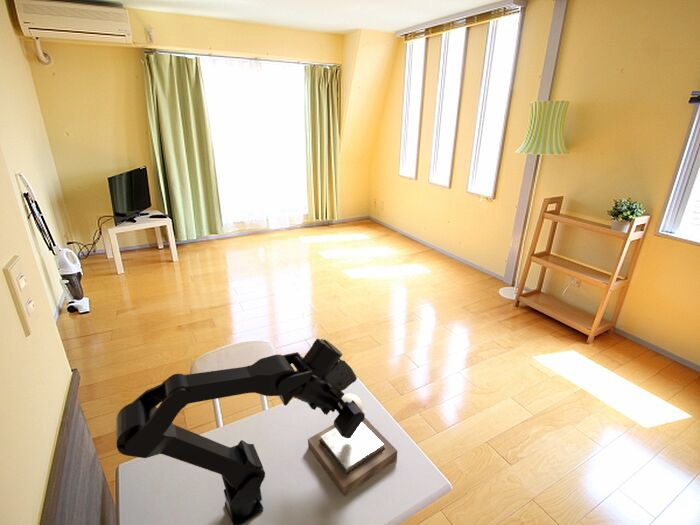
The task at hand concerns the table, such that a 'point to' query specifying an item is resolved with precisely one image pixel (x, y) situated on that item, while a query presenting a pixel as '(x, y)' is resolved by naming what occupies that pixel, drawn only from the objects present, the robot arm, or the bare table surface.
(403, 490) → the table surface
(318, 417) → the table surface
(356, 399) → the lightbulb
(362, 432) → the platform
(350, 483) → the brown picture frame
